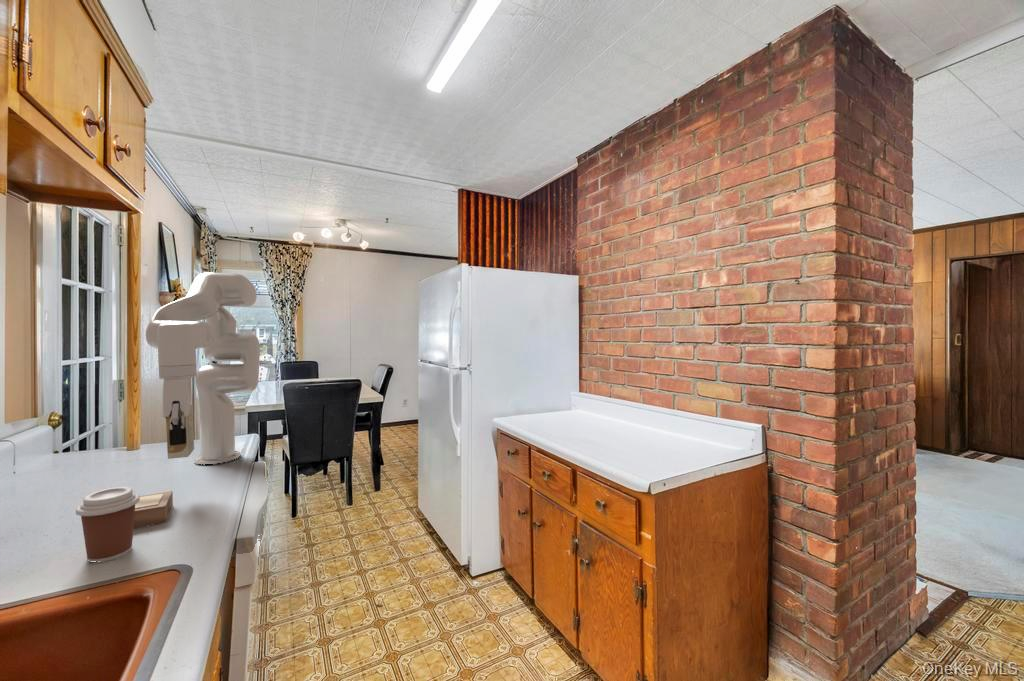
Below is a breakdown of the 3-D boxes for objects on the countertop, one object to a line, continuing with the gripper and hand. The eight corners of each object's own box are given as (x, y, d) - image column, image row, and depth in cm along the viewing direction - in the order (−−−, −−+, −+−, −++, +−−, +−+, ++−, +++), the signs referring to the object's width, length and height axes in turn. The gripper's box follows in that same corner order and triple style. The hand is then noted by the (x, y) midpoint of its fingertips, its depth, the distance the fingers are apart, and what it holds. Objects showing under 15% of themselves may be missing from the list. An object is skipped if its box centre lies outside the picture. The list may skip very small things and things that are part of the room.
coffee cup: (132, 537, 89) (131, 481, 89) (147, 550, 84) (146, 491, 84) (71, 556, 82) (69, 495, 81) (83, 572, 77) (81, 507, 76)
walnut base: (118, 515, 99) (118, 498, 99) (172, 506, 105) (172, 490, 104) (106, 533, 91) (105, 515, 91) (165, 522, 96) (165, 505, 96)
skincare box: (174, 451, 111) (172, 405, 110) (195, 449, 113) (193, 404, 112) (166, 459, 105) (164, 411, 104) (188, 457, 107) (186, 410, 106)
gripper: (165, 367, 113) (167, 433, 114) (151, 377, 98) (154, 452, 99) (199, 366, 117) (201, 429, 118) (192, 375, 102) (194, 447, 103)
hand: (180, 439), depth 109 cm, fingers closed on skincare box, 6 cm apart
